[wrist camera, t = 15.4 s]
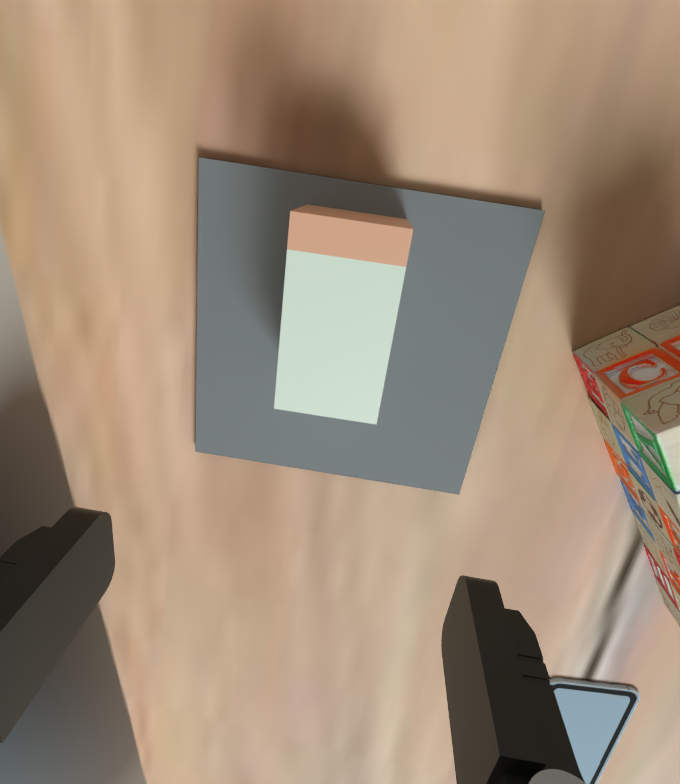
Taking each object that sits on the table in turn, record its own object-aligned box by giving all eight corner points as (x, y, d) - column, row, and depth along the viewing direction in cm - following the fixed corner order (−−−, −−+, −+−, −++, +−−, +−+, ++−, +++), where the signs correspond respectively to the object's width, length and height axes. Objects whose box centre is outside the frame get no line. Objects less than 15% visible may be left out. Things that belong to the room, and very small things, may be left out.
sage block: (377, 383, 27) (407, 219, 23) (376, 424, 23) (413, 229, 19) (291, 370, 27) (307, 204, 24) (273, 408, 23) (290, 210, 19)
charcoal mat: (542, 210, 23) (544, 210, 23) (458, 490, 30) (458, 494, 30) (201, 157, 23) (198, 157, 23) (197, 448, 31) (195, 451, 30)
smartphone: (644, 691, 36) (589, 800, 42) (639, 681, 37) (585, 789, 43) (547, 680, 37) (506, 790, 43) (543, 669, 37) (503, 779, 43)
